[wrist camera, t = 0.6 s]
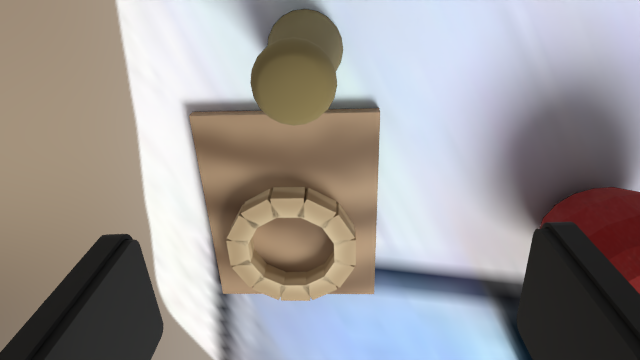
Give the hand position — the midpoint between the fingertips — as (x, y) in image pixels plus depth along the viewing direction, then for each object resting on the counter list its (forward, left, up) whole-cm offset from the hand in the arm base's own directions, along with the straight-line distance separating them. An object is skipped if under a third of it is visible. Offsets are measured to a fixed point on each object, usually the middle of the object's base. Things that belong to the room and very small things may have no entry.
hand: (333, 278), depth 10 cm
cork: (0, -3, -27) cm, 27 cm away
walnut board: (+15, -5, -27) cm, 31 cm away
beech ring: (+18, -5, -26) cm, 32 cm away
